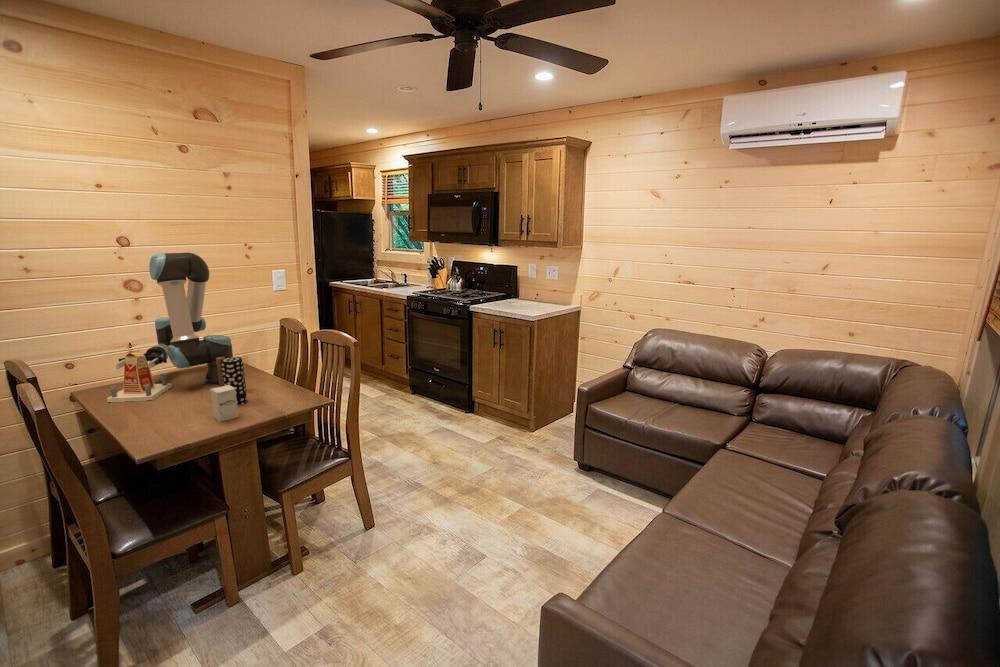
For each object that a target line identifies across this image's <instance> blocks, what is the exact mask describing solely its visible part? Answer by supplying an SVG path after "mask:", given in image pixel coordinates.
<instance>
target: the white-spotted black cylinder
mask: <svg viewBox="0 0 1000 667" xmlns="http://www.w3.org/2000/svg"><path fill="white" fill-rule="evenodd" d="M220 362H221V370H222V377H223V385H224V386H227V385H230V386H232V387H233V388H235V390H236V399H237V406H242V405H244V404H246V403H247V402H248V398H247V388H246V389H245V383H246V379H245V380H244V374H245V371H244V372H243V366H244V362H243V358H242V357H240V356H233V357H229V358H225V359H222V360H221V361H220Z"/></svg>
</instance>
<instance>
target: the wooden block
mask: <svg viewBox="0 0 1000 667" xmlns="http://www.w3.org/2000/svg"><path fill="white" fill-rule="evenodd" d="M222 359H225V357H218V358H216V363H217V370H218V378H219V385H218V386H219V387H222V386H224V385H223V377H222V370H221V362H220V361H221V360H222ZM243 372H244V380H245V381H246V377H245V376H246V374H245V368H244V365H243ZM245 389H246V390H247V385H246V382H245Z"/></svg>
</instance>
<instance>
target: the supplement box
mask: <svg viewBox="0 0 1000 667" xmlns="http://www.w3.org/2000/svg"><path fill="white" fill-rule="evenodd" d="M209 391H210V397H211V404H212V405H211V406H212V412H213V418H215V419H216V420H217V421H218V422H220V423H222V422H225V421H228V420H232V419H237V418H239V410H238V405H237V399H236V390H235V388H233V387H232V386H230V385H227V386H222V387H220V386H219V387H213V388H210V390H209Z"/></svg>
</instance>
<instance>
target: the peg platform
mask: <svg viewBox="0 0 1000 667" xmlns="http://www.w3.org/2000/svg"><path fill="white" fill-rule="evenodd" d="M160 380H161V383H154V386H155V388H154V389H152V390H151V388H150V384H145V385H144V386H145V392H146V393H144V394H124V388H122V389H121V390H118V391H117V386H116V385H115V384H113V385H109V388H110V389H109V390H110V394H111V395H110V396H108V397H106V400H107V403H108V402H111V403H126V402H125V401H135V402H148V401H147V400H152V401H154V400H155V399H157V398H159V397H160V396H162V395H163V394H164V393H166V392H167V391H169V390H170V389H172V388H171V387H173V385H172V383H168V381H167V374H166V373H165V374H161V375H160ZM169 388H170V389H169ZM168 389H169V390H168ZM165 391H166V392H165ZM163 392H164V393H163ZM162 393H163V394H162ZM159 395H160V396H159ZM156 397H157V398H156ZM153 399H154V400H153Z"/></svg>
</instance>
